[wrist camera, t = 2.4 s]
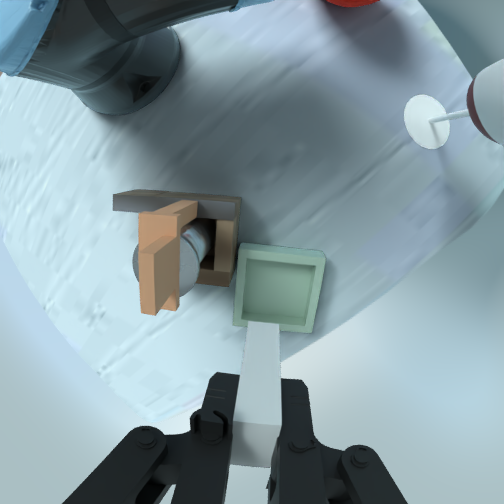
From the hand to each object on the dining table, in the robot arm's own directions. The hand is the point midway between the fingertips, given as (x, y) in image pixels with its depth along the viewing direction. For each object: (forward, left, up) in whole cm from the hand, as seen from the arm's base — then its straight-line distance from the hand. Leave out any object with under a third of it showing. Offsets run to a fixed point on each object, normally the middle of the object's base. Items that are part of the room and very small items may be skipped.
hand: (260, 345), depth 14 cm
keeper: (-1, -8, -16) cm, 18 cm away
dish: (+6, +2, -23) cm, 23 cm away
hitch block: (0, -10, -23) cm, 25 cm away
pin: (0, -8, -22) cm, 23 cm away
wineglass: (-18, +19, -23) cm, 35 cm away
